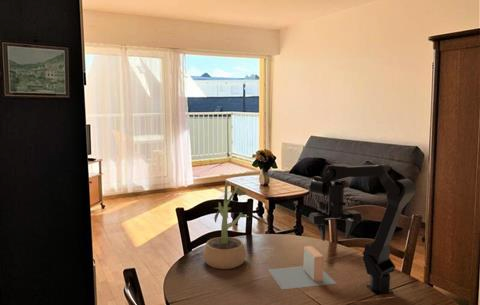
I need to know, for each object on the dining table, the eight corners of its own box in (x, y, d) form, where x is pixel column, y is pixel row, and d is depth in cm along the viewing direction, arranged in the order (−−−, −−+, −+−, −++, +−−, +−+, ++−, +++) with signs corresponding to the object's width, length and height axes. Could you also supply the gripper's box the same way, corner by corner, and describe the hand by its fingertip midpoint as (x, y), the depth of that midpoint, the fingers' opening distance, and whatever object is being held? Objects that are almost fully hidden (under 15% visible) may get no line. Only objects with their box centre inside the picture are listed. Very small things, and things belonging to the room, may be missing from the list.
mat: (336, 284, 135) (336, 283, 135) (281, 290, 131) (281, 289, 131) (317, 265, 151) (317, 264, 151) (267, 270, 146) (267, 269, 146)
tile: (322, 280, 137) (323, 256, 136) (313, 281, 137) (314, 256, 135) (310, 268, 147) (311, 245, 146) (302, 269, 146) (303, 246, 145)
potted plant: (248, 271, 145) (249, 192, 141) (200, 270, 146) (199, 191, 142) (249, 248, 168) (250, 179, 164) (207, 247, 168) (207, 179, 164)
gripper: (349, 192, 153) (348, 231, 154) (303, 194, 149) (303, 234, 151) (363, 198, 142) (362, 240, 143) (315, 201, 138) (314, 244, 140)
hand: (335, 239), depth 145 cm, fingers open, 9 cm apart
